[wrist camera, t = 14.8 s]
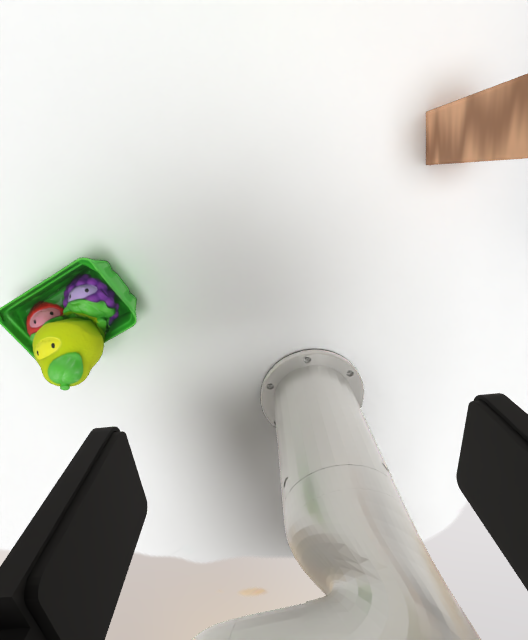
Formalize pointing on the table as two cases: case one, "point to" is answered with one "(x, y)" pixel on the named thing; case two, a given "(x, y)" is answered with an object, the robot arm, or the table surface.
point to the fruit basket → (71, 319)
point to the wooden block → (480, 126)
